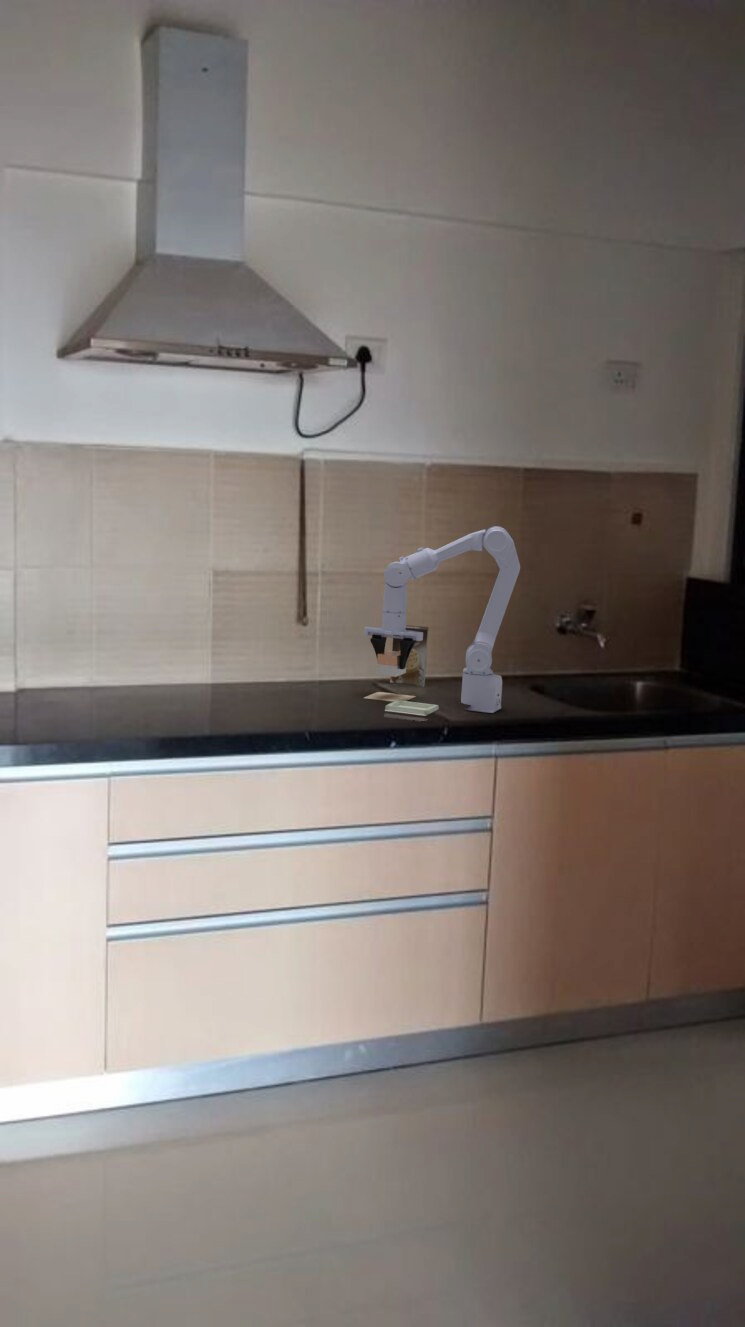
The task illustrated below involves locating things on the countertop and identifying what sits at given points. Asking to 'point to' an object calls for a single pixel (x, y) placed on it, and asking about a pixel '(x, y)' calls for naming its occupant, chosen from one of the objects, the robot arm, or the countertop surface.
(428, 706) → the stand
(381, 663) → the housing
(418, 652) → the coffee box
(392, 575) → the robot arm
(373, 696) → the stand
